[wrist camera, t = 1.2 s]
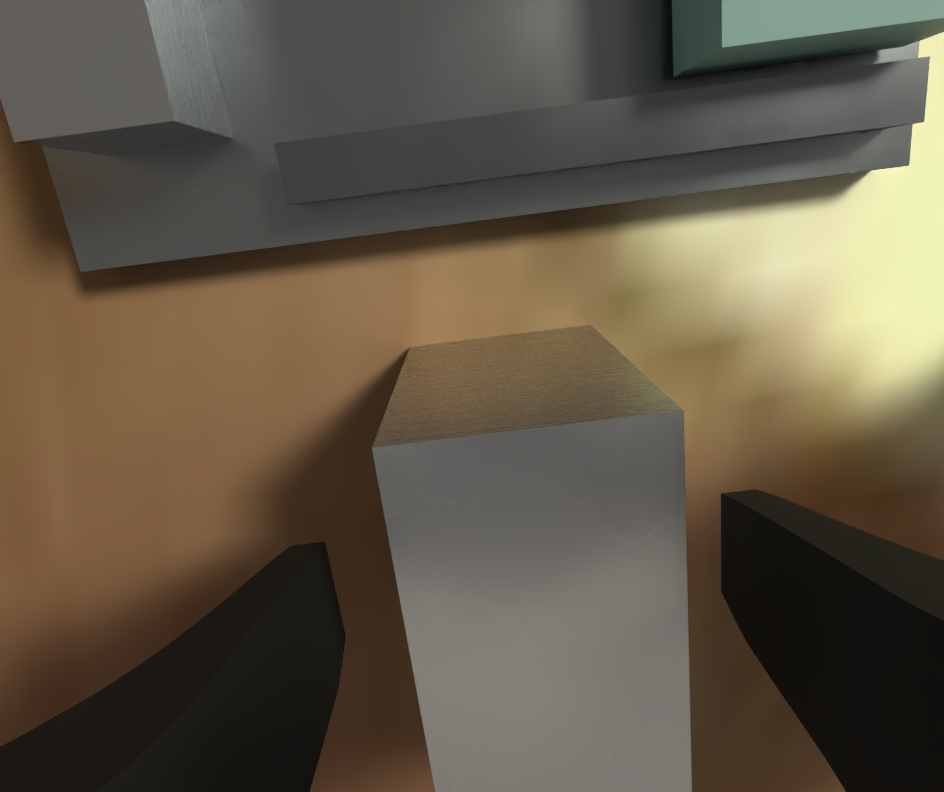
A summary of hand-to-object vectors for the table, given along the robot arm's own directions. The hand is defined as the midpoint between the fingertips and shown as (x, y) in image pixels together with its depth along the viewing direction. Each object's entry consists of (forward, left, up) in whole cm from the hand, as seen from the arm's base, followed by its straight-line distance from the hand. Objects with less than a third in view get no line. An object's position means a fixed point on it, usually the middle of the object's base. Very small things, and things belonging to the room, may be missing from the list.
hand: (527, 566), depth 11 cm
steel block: (0, 0, -4) cm, 4 cm away
